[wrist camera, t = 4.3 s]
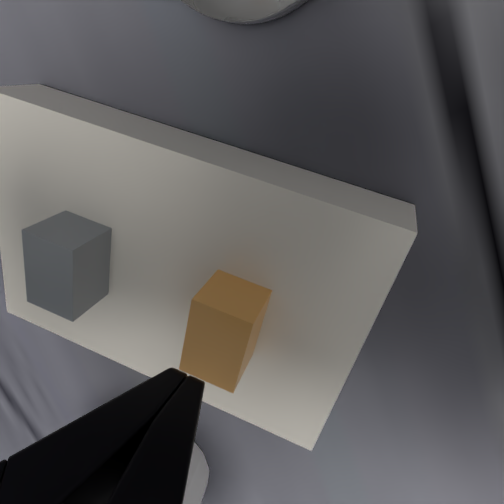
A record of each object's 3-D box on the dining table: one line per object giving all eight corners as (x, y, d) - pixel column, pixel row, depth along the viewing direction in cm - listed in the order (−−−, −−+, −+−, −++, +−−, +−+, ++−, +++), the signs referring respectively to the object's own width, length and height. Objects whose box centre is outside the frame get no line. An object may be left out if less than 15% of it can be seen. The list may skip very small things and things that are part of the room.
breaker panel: (47, 285, 16) (-34, 336, 13) (39, 84, 13) (-78, 90, 9) (322, 404, 14) (300, 498, 11) (414, 204, 10) (421, 264, 7)
